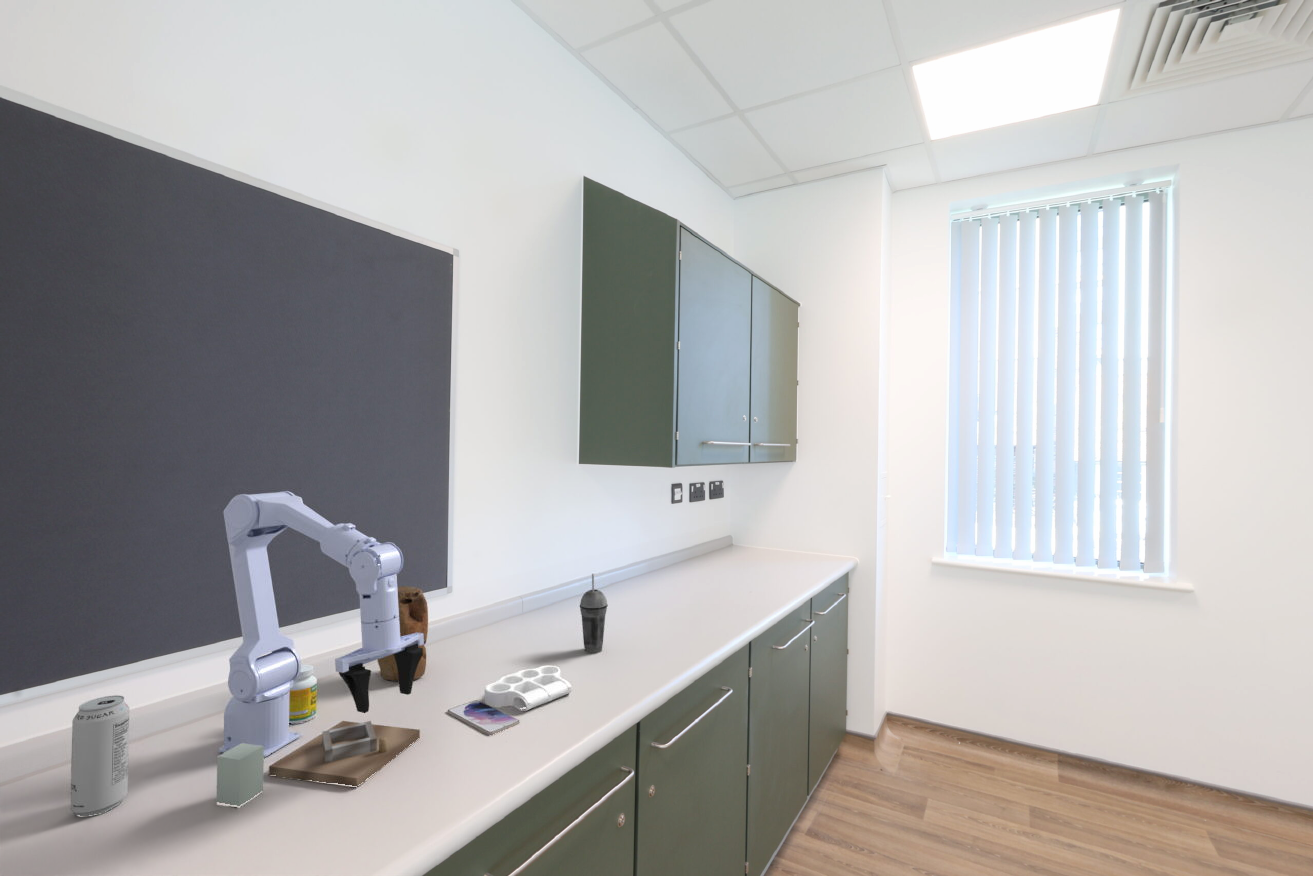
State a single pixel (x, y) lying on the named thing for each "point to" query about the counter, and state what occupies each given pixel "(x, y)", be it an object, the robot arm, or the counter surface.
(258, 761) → the sage block
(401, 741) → the socket plate
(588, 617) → the beverage cup
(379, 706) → the counter surface
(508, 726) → the smartphone
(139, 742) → the counter surface
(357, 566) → the robot arm
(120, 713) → the energy drink can
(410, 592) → the block
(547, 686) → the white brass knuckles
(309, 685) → the supplement bottle
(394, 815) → the counter surface
